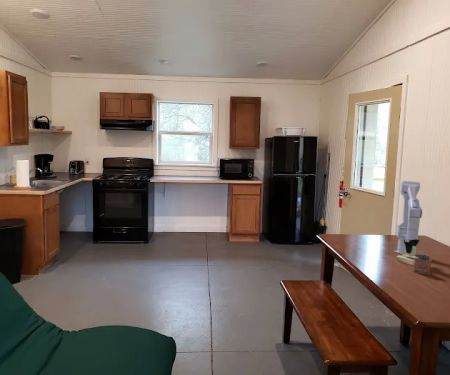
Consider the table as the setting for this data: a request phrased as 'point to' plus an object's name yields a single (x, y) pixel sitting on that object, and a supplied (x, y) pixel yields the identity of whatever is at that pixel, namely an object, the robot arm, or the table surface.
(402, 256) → the maple block
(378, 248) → the table surface
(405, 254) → the sage block
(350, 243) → the table surface
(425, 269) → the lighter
